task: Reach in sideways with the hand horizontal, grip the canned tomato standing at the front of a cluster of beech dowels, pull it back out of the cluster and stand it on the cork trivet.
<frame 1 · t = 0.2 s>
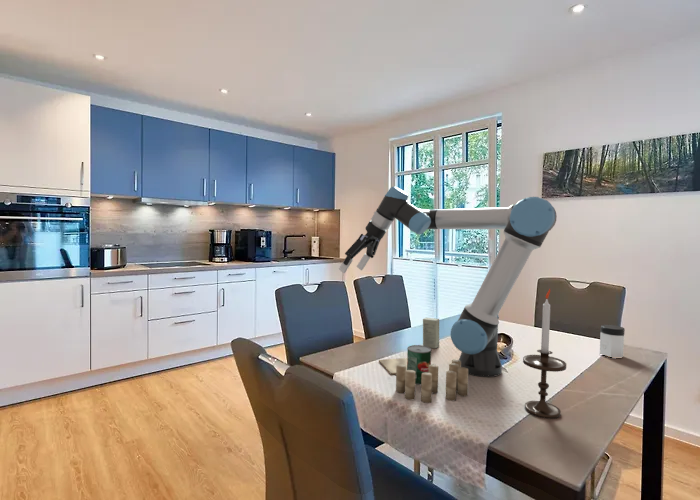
hand: (350, 269, 152), 35 cm above the table, tool tilted 35°, fingers open, 13 cm apart
jar: (611, 356, 159), on the table
skincare box: (430, 346, 168), on the table
candlestick: (542, 411, 109), on the table
dowel field: (428, 390, 122), on the table
canned tomato: (418, 381, 130), on the table
cork trivet: (402, 366, 143), on the table
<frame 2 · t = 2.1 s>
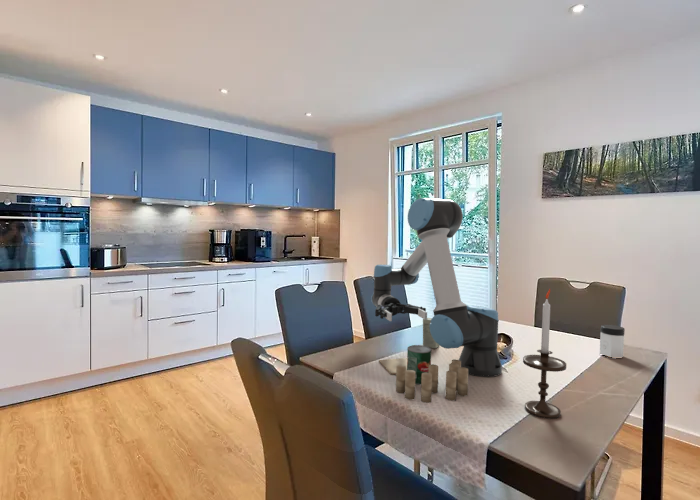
hand: (408, 316, 138), 20 cm above the table, tool horizontal, fingers open, 13 cm apart
nothing on the table moved.
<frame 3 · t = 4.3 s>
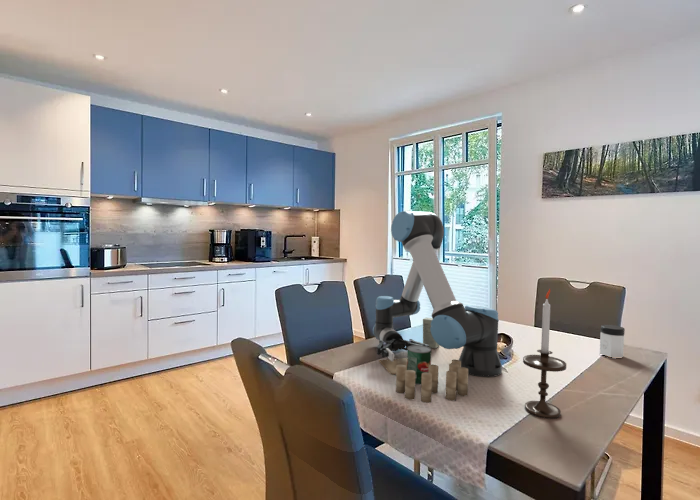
hand: (411, 356, 135), 6 cm above the table, tool horizontal, fingers open, 13 cm apart
nothing on the table moved.
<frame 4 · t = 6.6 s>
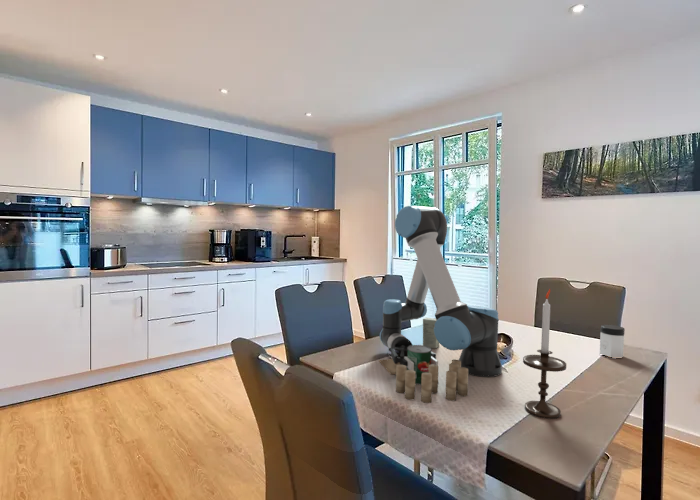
hand: (424, 366, 125), 7 cm above the table, tool horizontal, fingers closed on canned tomato, 8 cm apart
canned tomato: (418, 381, 130), on the table, touching gripper
everything else where it was.
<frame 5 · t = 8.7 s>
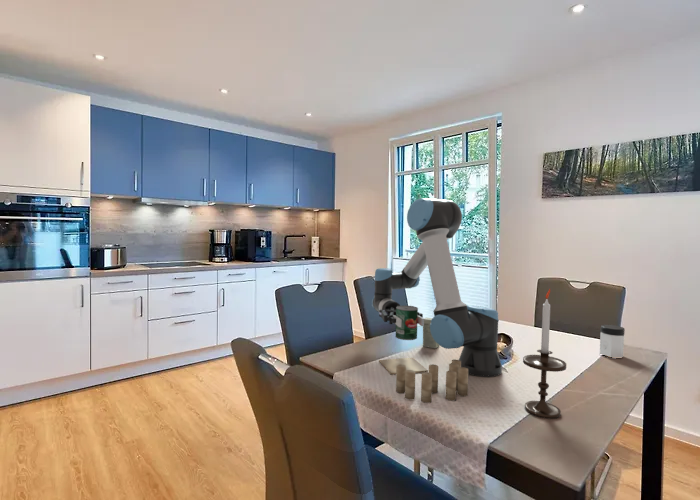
hand: (411, 322, 136), 18 cm above the table, tool horizontal, fingers closed on canned tomato, 8 cm apart
canned tomato: (406, 337, 141), point 11 cm above the table, touching gripper
everything else where it was.
when the fingers open (9 cm above the table, at t = 10.9 s): canned tomato drops 1 cm, resting on cork trivet.
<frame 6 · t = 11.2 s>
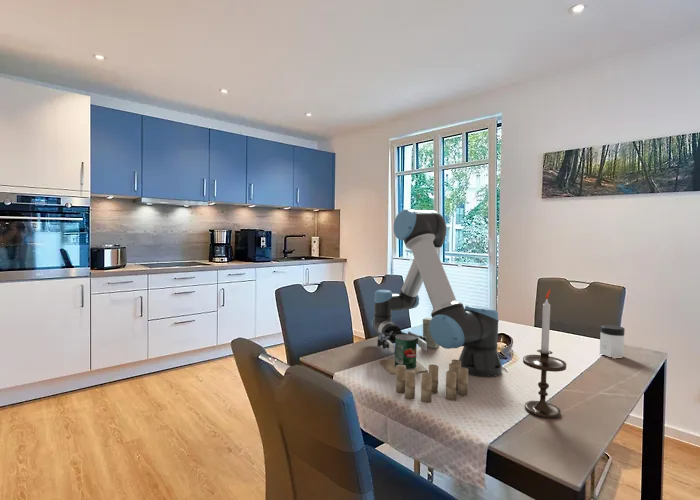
hand: (409, 347, 138), 9 cm above the table, tool horizontal, fingers open, 12 cm apart
canned tomato: (405, 366, 142), resting on cork trivet
everything else where it was.
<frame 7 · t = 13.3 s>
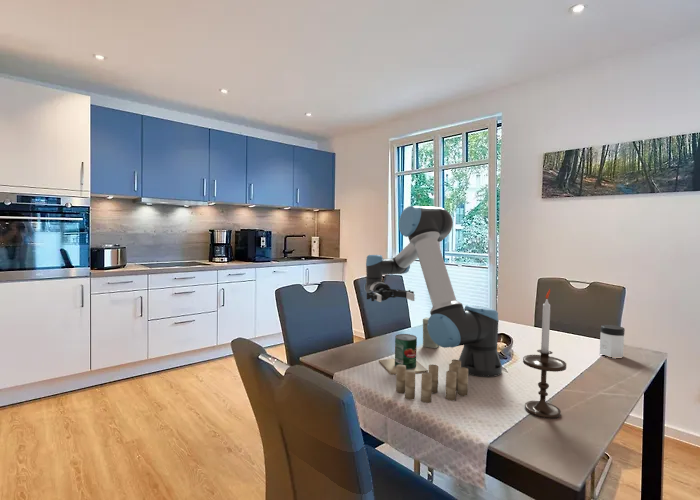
hand: (397, 298, 150), 24 cm above the table, tool horizontal, fingers open, 13 cm apart
nothing on the table moved.
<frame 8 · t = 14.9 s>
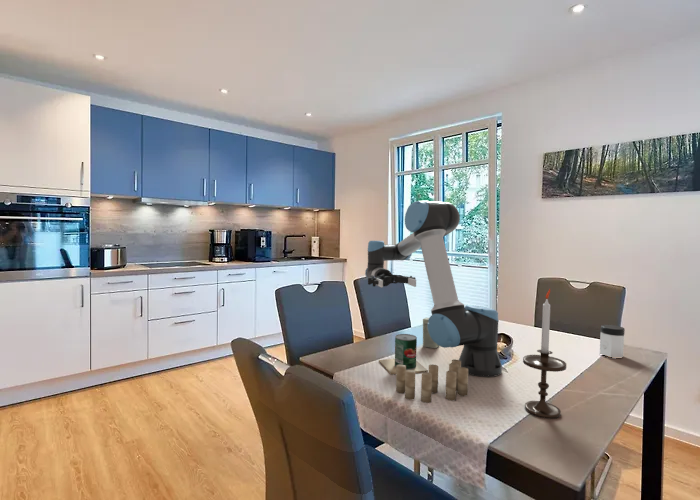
hand: (398, 283, 148), 30 cm above the table, tool horizontal, fingers open, 13 cm apart
nothing on the table moved.
at the end: canned tomato inside the target area (1.6 cm from its centre), resting on cork trivet; canned tomato tilted 0°; the gripper is holding nothing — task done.
